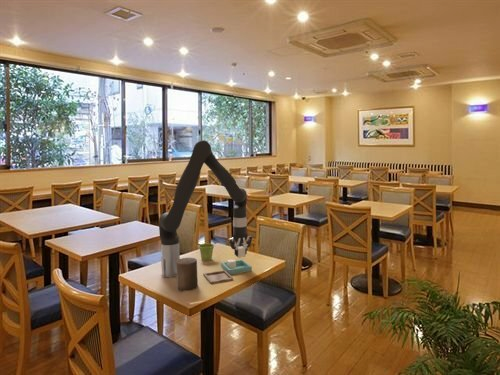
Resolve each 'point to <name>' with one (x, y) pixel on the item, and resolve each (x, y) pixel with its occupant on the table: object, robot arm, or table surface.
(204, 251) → the plant pot
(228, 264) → the stone
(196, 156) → the robot arm
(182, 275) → the pillar candle
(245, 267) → the dish
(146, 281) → the table surface
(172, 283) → the table surface
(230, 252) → the table surface
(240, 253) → the stone
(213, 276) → the tray
